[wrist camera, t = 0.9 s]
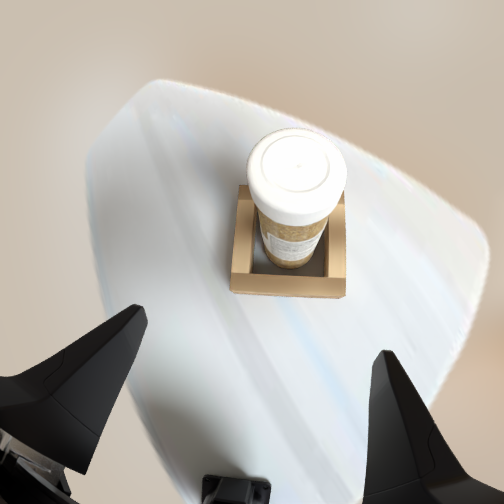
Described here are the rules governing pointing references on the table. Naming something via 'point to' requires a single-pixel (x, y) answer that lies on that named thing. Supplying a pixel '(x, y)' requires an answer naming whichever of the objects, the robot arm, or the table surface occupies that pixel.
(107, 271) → the table surface
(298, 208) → the sprinkles bottle
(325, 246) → the block
